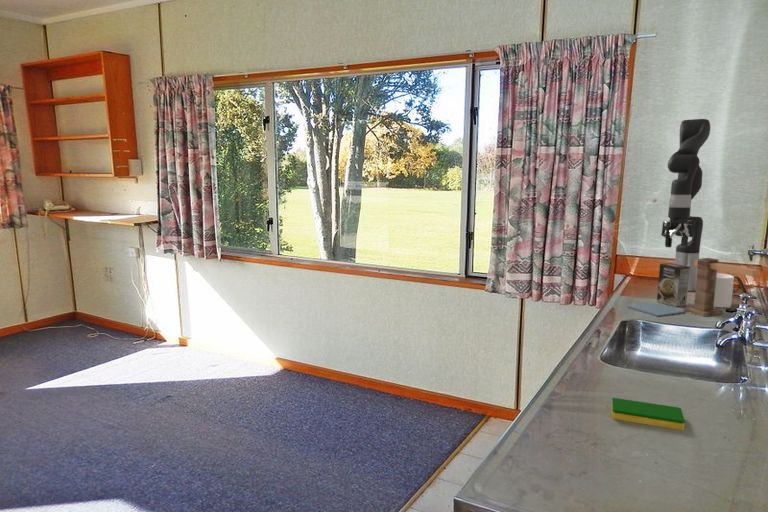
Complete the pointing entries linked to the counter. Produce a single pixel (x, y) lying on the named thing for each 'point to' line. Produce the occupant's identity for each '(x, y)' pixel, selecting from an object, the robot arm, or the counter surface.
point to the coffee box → (673, 284)
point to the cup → (723, 290)
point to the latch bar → (731, 268)
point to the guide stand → (705, 289)
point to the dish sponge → (648, 413)
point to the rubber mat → (656, 309)
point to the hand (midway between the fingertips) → (676, 246)
